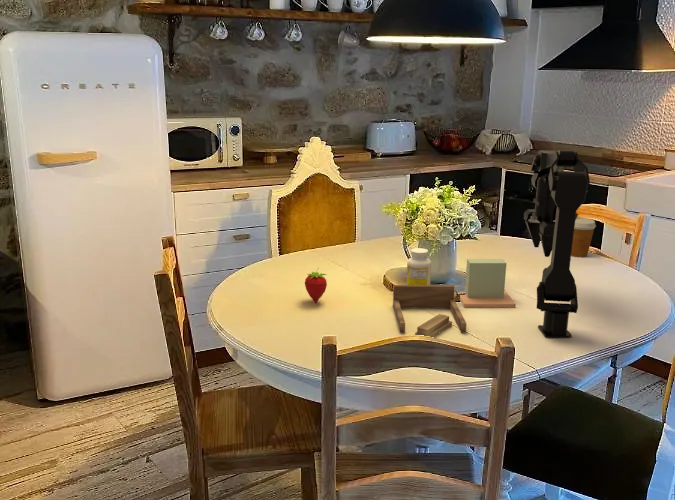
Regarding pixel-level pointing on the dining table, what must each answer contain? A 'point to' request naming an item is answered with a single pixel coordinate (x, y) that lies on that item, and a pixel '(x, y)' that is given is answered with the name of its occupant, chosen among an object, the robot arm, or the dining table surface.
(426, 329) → the offcut stack
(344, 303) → the dining table surface
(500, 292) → the sage green square block
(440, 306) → the rack
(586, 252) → the disposable coffee cup
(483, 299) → the tile
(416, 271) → the supplement bottle
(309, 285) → the strawberry
